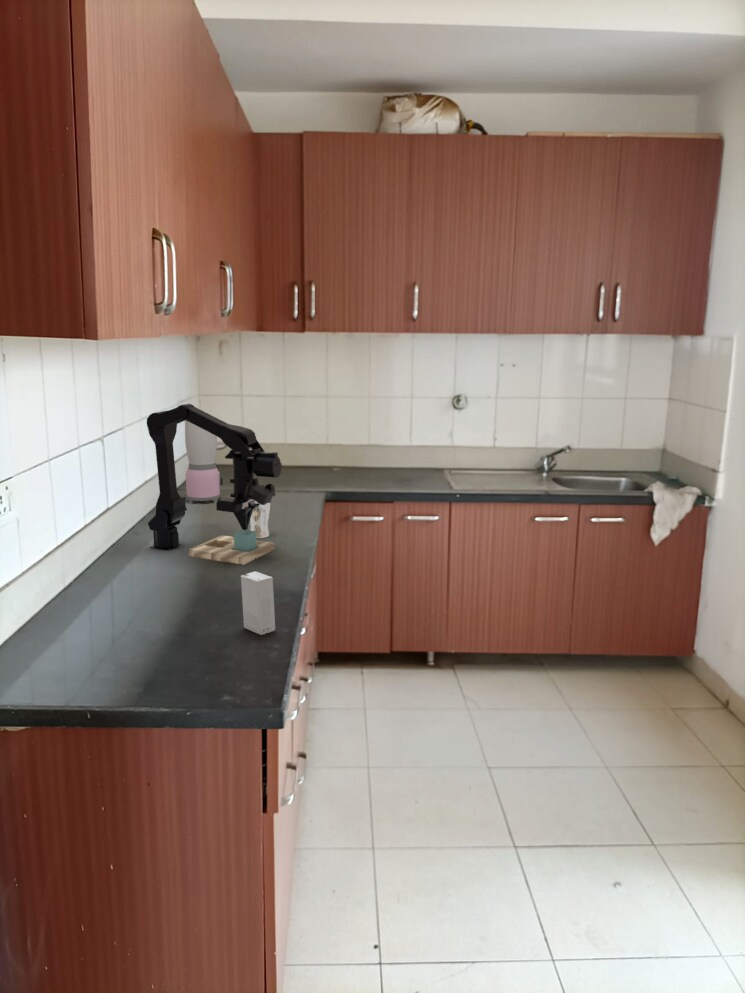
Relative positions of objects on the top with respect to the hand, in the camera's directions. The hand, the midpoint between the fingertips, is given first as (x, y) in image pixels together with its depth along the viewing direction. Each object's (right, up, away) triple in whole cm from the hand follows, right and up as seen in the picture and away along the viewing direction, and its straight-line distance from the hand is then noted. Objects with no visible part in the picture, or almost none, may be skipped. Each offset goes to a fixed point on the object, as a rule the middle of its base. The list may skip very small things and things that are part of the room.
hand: (244, 529), depth 210 cm
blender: (-26, +8, +69) cm, 74 cm away
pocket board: (-4, -7, +3) cm, 9 cm away
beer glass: (+1, -3, +22) cm, 22 cm away
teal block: (0, -7, +2) cm, 7 cm away
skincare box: (+11, -19, -49) cm, 54 cm away
